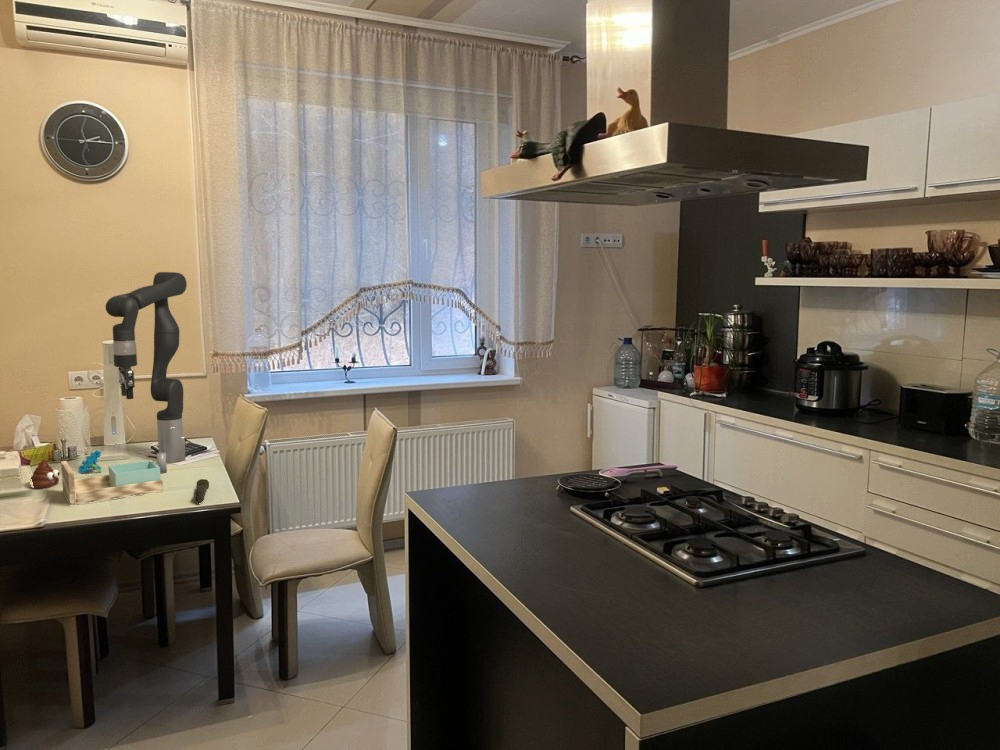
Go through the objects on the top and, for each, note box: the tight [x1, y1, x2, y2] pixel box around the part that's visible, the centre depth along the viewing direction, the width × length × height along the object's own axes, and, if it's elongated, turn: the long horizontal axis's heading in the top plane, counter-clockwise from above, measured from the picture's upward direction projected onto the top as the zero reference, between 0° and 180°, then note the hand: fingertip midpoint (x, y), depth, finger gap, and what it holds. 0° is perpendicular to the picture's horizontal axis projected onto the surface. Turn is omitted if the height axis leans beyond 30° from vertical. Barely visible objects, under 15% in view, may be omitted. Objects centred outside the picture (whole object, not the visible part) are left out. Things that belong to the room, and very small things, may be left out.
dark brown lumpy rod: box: [195, 478, 210, 505], centre depth 253 cm, size 19×4×5 cm, turn 15°
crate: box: [108, 452, 168, 487], centre depth 261 cm, size 18×13×10 cm
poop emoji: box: [30, 458, 61, 490], centre depth 263 cm, size 10×9×9 cm
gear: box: [78, 449, 102, 474], centre depth 283 cm, size 11×6×10 cm
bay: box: [60, 460, 164, 506], centre depth 256 cm, size 28×18×11 cm, turn 127°
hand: (127, 397), depth 271 cm, fingers open, 8 cm apart
